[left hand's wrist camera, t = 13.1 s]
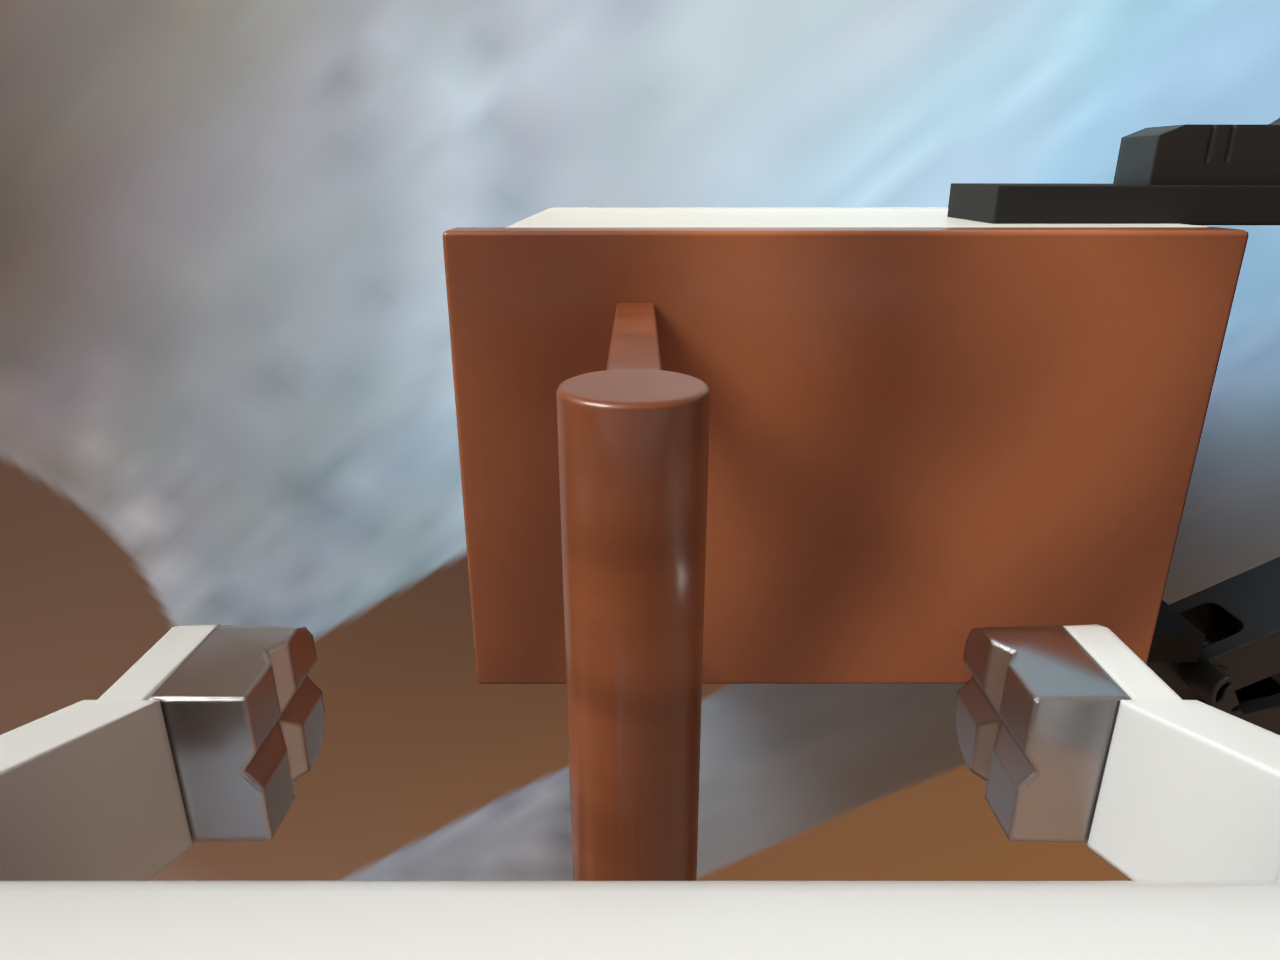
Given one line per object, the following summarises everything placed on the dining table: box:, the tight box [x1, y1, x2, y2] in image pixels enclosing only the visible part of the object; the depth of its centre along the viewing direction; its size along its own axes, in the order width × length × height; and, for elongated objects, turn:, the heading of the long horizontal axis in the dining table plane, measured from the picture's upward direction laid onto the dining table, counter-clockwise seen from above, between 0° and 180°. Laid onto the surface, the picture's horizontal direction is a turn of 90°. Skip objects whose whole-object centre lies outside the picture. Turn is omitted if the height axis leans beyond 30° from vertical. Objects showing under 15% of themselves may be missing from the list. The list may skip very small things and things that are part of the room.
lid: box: [443, 227, 1248, 881], centre depth 14 cm, size 15×10×9 cm, turn 90°
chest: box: [505, 208, 1207, 228], centre depth 22 cm, size 14×10×9 cm
